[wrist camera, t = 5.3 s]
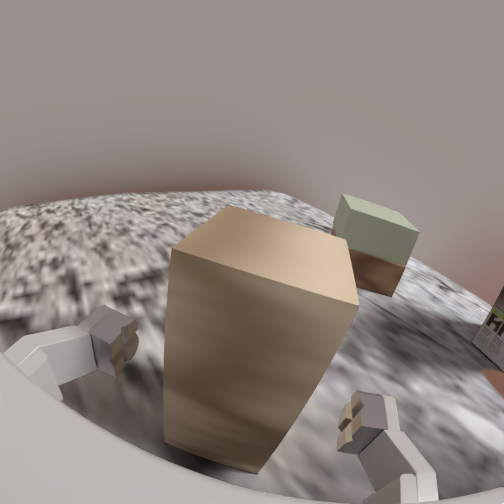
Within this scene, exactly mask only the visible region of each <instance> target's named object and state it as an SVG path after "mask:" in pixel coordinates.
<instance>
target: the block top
mask: <svg viewBox="0 0 504 504" xmlns="http://www.w3.org/2000/svg"><path fill="white" fill-rule="evenodd" d="M333 225H334V229H335V233H336V237H339V238H342V239H345V240H346V241H347V246H348V248H349V249H352V250H356V251H359V252H362V253H365V254H369V255H372V256H375V257H378V258H382V259H385V260H388V261H391V262H395V263H398V264H401V265H404V266H406V264H407V262H408V260H409V257H410V255H411V252H412V250H413V248H414V245H415V243H416V240H417V238H418V235H419V233H420V232H419V231H418V230H417V229H416V228H415V227H414V226H413V225H412V224H411V223H410V222H409V221H407V219H405V218H404V217H403V216H402V215H401V214H400V213H399V212H397V211H394V210H391V209H388V208H385V207H382V206H380V205H377V204H374V203H371V202H368V201H364V200H362V199H358V198H356V197H352V196H349V195H346V194H343V193H342V196H341V199H340V202H339V205H338V209H337V212H336V215H335V218H334V221H333Z"/></svg>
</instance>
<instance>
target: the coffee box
mask: <svg viewBox="0 0 504 504" xmlns="http://www.w3.org/2000/svg"><path fill="white" fill-rule="evenodd" d="M472 343H473V344H474V345H475V346H476V347H477V348H478V349H479V350H481V351H482V352H483V353H484V354H485V355H486V356H487V357H488V358H489V359H491V360H492V361H493V362H494V363H495V364H496V365H497V366H498V367H499V368H500V369H501V370H502V371H503V372H504V287H503V289H502V290H501V292H500V295H499V296H498V298H497V300H496V302H495V304H494V305H493V307H492V309H491V311H490V312H489V314H488V316H487V317H486V319H485V321H484V323H483V324H482V326H481V327H480V329H479V331H478V332H477V334H476V335H475V337H474V338H473V340H472Z"/></svg>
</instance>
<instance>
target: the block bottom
mask: <svg viewBox="0 0 504 504" xmlns="http://www.w3.org/2000/svg"><path fill="white" fill-rule="evenodd" d="M331 235H333V236H336V233H335V229H334V227H333V230H332V233H331ZM348 250H349V255H350V259H351V264H352V269H353V274H354V279H355V284H356V286H357V287H360V288H363V289H366V290H370V291H373V292H376V293H380V294H383V295H386V296H389V297H392V295H393V293H394V291H395V289H396V287H397V285H398V283H399V281H400V278H401V276H402V274H403V272H404V270H405V266H404V265H401V264H398V263H395V262H391V261H388V260H385V259H382V258H378V257H375V256H372V255H369V254H365V253H362V252H359V251H356V250H352V249H349V248H348Z"/></svg>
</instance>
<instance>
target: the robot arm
mask: <svg viewBox="0 0 504 504" xmlns="http://www.w3.org/2000/svg"><path fill="white" fill-rule="evenodd" d="M137 330H138V322H137V321H136V320H134V319H132V318H130V317H128V316H126V315H124V314H122V313H120V312H118V311H116V310H113V309H111V308H109V307H107V306H105V305H103V306H100V307H99V308H98V309H97V310H95V311H94V312H93V313H92V314H91V315H90V316H88V317H87V318H86V319H85V320H84V321H83V322H82V323H80V324H79V325H78V326H75V325H72V326H68V327H63V328H59V329H54V330H50V331H45V332H40V333H36V334H31V335H26V336H23V337H22V338H21V339H19V340H18V341H17V342H16V343H15V344H13V345H12V346H11V347H10V348H9V349H8V350H6V351H5V352H4V353H2V352H1V351H0V504H349V503H335V502H324V501H315V500H307V499H300V498H294V497H288V496H283V495H277V494H272V493H268V492H263V491H259V490H254V489H250V488H246V487H243V486H239V485H235V484H232V483H228V482H225V481H222V480H218V479H215V478H212V477H209V476H206V475H203V474H200V473H197V472H195V471H192V470H189V469H187V468H184V467H181V466H179V465H176V464H174V463H172V462H169V461H167V460H164V459H162V458H160V457H158V456H155V455H153V454H151V453H149V452H147V451H145V450H142V449H140V448H138V447H136V446H134V445H132V444H130V443H128V442H126V441H125V440H123V439H121V438H119V437H117V436H115V435H113V434H112V433H110V432H108V431H106V430H105V429H103V428H101V427H99V426H98V425H96V424H94V423H93V422H91V421H90V420H88V419H86V418H85V417H83V416H82V415H80V414H79V413H77V412H76V411H74V410H73V409H71V408H70V407H68V406H67V405H65V404H64V403H62V402H61V401H62V399H63V395H62V393H61V390H60V388H59V385H61V384H64V383H66V382H69V381H71V380H74V379H76V378H79V377H81V376H84V375H86V374H89V373H91V372H93V371H96V370H97V369H99V370H101V371H103V372H104V373H106V374H108V375H110V376H112V377H114V378H116V377H117V376H118V375H119V373H120V372H121V371H122V370H123V369H124V367H125V365H124V362H125V361H128V360H131V359H132V357H133V356H134V355H135V353H136V350H137V348H138V343H139V340H138V336H137V334H136V333H135V332H136V331H137ZM338 428H339V429H340V431H341V434H340V435H339V436H338V441H337V451H338V452H343V453H350V454H357V456H358V458H359V460H360V462H361V464H362V466H363V468H364V470H365V472H366V474H367V475H368V477H369V479H370V481H371V483H372V485H373V487H374V489H375V491H376V492H375V493H374V494H372V495H370V496H369V497H367V498H366V499H364V500H363V504H504V487H499V488H495V489H492V490H488V491H484V492H480V493H476V494H471V495H466V496H461V497H455V498H449V499H443V500H438V489H437V480H436V472H435V471H434V470H433V468H432V467H431V466H430V465H429V463H428V462H427V461H426V460H425V458H424V457H423V456H422V455H421V453H420V452H419V451H418V450H417V448H416V447H415V446H414V444H413V443H412V442H411V441H410V439H409V438H408V437H407V436H406V434H405V433H404V432H401V431H400V426H399V419H398V413H397V406H396V400H395V398H394V397H391V396H385V395H379V394H373V393H367V392H362V391H356V392H355V393H354V394H353V395H352V397H351V402H350V403H347V404H346V405H345V406H344V408H343V409H342V411H341V414H340V416H339V421H338Z"/></svg>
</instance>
